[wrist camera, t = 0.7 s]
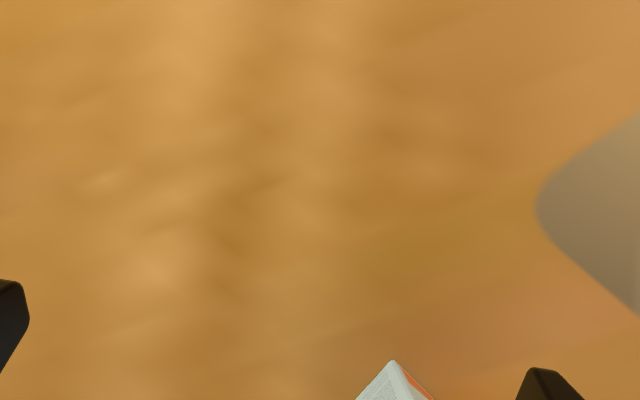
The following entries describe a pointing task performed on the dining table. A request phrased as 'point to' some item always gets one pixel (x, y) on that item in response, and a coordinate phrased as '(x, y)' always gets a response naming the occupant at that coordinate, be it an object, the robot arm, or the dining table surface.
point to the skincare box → (394, 386)
